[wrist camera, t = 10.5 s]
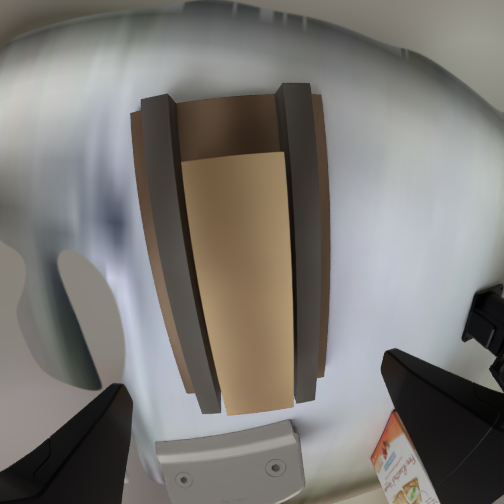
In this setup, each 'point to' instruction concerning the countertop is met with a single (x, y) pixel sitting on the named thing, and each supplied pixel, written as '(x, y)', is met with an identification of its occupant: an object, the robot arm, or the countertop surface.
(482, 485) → the robot arm
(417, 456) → the cracker box
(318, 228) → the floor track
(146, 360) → the countertop surface
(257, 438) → the grey upright panel
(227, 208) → the wooden block
